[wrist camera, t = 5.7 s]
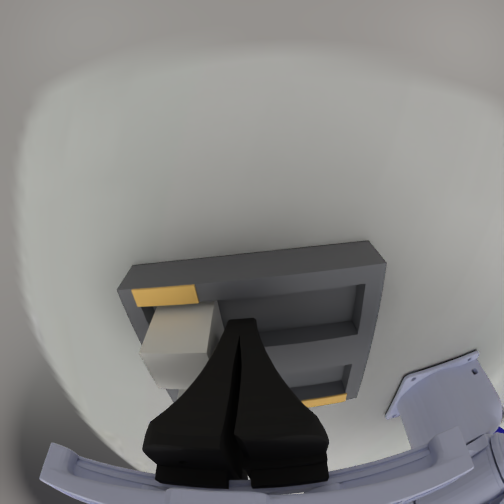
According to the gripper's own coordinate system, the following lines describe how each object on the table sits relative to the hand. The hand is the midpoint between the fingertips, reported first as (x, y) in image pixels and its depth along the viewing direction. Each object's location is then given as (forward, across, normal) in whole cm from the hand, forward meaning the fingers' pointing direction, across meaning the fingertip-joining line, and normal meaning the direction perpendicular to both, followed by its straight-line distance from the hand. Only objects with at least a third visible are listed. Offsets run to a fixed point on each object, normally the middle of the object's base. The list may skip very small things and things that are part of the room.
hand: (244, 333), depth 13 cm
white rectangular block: (+2, +3, 0) cm, 3 cm away
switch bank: (+3, 0, +3) cm, 4 cm away
